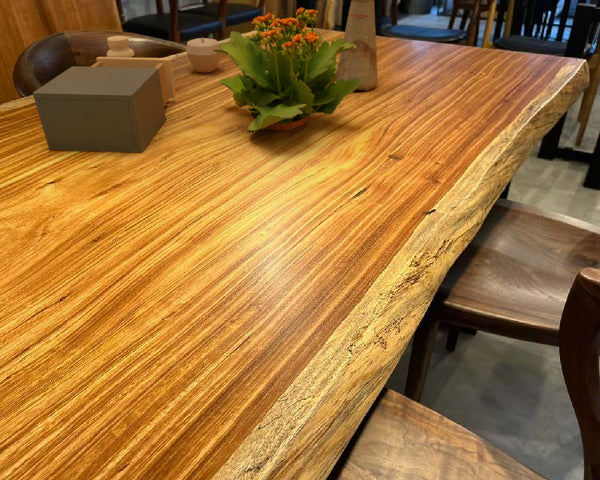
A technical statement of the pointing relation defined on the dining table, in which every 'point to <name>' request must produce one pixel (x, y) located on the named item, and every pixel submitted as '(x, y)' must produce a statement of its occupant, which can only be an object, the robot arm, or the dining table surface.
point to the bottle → (360, 46)
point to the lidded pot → (203, 54)
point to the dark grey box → (101, 109)
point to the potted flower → (286, 72)
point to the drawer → (160, 63)
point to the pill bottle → (119, 47)
